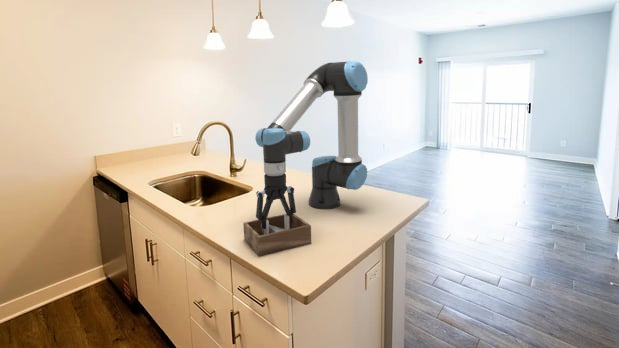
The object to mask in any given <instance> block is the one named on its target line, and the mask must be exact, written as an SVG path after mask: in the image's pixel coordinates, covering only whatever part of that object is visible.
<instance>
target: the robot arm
mask: <svg viewBox="0 0 619 348" xmlns="http://www.w3.org/2000/svg"><path fill="white" fill-rule="evenodd" d="M368 81H369V79H368V73H367V69H366V68H365V66H364V64H362V63H361V62H360V61H355V60H354V61H351V60H349V61H335V62H327V63H324V64H322V65H320V66H319V67H318V68H315V70H314V71H312V72H311V73H310V74H309V75H308V76H307V78H305V80H304V81H303V86H302V87H301V88H300V89H299V91H298V92H297V93H296V94H295V95H294V96H293V97H292V98H291V100H290V101H289V102H288V103H287V105H286V106H285V107H284V108H283V109H282V110H281V111H280V112H279V114H278V115H277V116H276V117H275V118H274V120H273V121H272V122H271V123H270V124H269V125H268V126H267V128H266V127H263V128H259V129H258V130H257V132H256V133H255V141H256V144H257V145H258V146H259V147H261V148H262V149H263V150H262V151H263V173H264V175H263V176H264V189H263V190H261V191H258V190H257V191H256V192H255V193H256V194H255V195H256V197H257V201H256V210H255V211H256V212H255V218H256V220H261V224H262V228H263V229H264V235H266V234H269V221H268V220H267V218H268V217H269V213H270V209H271V206H272V204H273V202H274V201H275V200H280V202H281V205H282V207H283V209H284V212H285V213H284V214H285V215H284V229H285V230H288V229H289V224H291V216H292V215H293V214H296V213H297V209H296V202H295V196H294V193H295V188H294V187H293V186H291V185H289V186H287V174H286V161H287V160H286V156H287V155H290V154H295V153H302V152H305V151H307V150H308V149H309V148H310V145H311V137H310V135H309V133H307V132H306V131H305V130H297V131H292V129H293V128H294V127H295V126H296V125H297V123H298V121H300V119H302V117H303V115H304V114H305V113H306V112H307V110H309V108H310V107H311V106H312V104H313V103H314V102H315V101H316V99H318V98H322V96H323V95H324V94H325V93H326V92H327V93H328V92H333V97H334V98H335V99H336V101H337V104H336V105H337V142H338V144H337V145H338V147H337V148H338V155H323V156H318V157H314V158H313V159H312V162H311V164H312V166H311V179H312V181H311V183H312V185H311V186H312V187H311V188H312V189H311V192H310V195H309V198H308V205H309V206H310V207H312V208H314V209H321V210H326V209H327V210H328V209H335V208H337V207H340V205H341V197H340V194H339V192H338V188H337V187H340V188H343V189H347V190H353V191H358V190H359V189H360V188H362V187H363V186H364V184H365V182H366V180H367V177H368V168H367V166H366V165H365V164H363V160H362V157H361V156H360V155H359V98H361V96H362V93H363V91H364V90H365V89H366V88H367V85H368ZM286 193H287V197H288V202H287V199H286V196H285V194H286ZM265 196H266V198H265V203H264V197H265ZM286 214H287V215H286Z"/></svg>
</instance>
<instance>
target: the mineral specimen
mask: <svg viewBox="0 0 619 348" xmlns="http://www.w3.org/2000/svg"><path fill="white" fill-rule="evenodd" d="M261 227H262V224H261ZM284 230H285V229H281V228H279V227H275V226H271V225H269V234H270V233H275V232H279V231H284ZM262 233H263V235H264V229H262Z"/></svg>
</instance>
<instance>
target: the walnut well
mask: <svg viewBox="0 0 619 348" xmlns="http://www.w3.org/2000/svg"><path fill="white" fill-rule="evenodd" d="M285 214H286V213H284V214H279V215H274V216H268V217H267V220H268V221H269V225H271V226H275V227H279V228H281V229H284V215H285ZM286 215H287V214H286ZM262 229H263V228H262V227H261V220H258V219H255V220H249V221H244V222H243V238H244V239H243V240H244V242H245V243H246V244H247V245H248V246H249V247H250V249H251V250H253V252H254V253H255V254H256V255H257V256H258V257H259V258H260V257H265V256H267V255H272V254H276V253H279V252H284V251H287V250H292V249H296V248H299V247H303V246H306V245H310V244H312V225H311V224H309V223H308V222H306V221H305V220H304V219H303V218H301V217H299V216H298V215H297V214H296V213H293V215H292V216H291V224H289V229H288V230H284V231H279V232H275V233H270V234H266V235H263V233H262Z"/></svg>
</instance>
